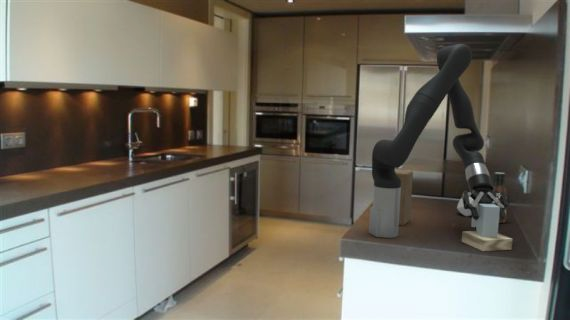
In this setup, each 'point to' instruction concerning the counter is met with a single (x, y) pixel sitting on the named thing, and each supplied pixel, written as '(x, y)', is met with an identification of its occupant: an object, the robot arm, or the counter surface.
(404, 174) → the wooden block
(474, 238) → the beech block
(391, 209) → the robot arm
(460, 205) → the die
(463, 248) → the counter surface
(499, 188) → the sauce bottle
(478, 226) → the grey rectangular block
